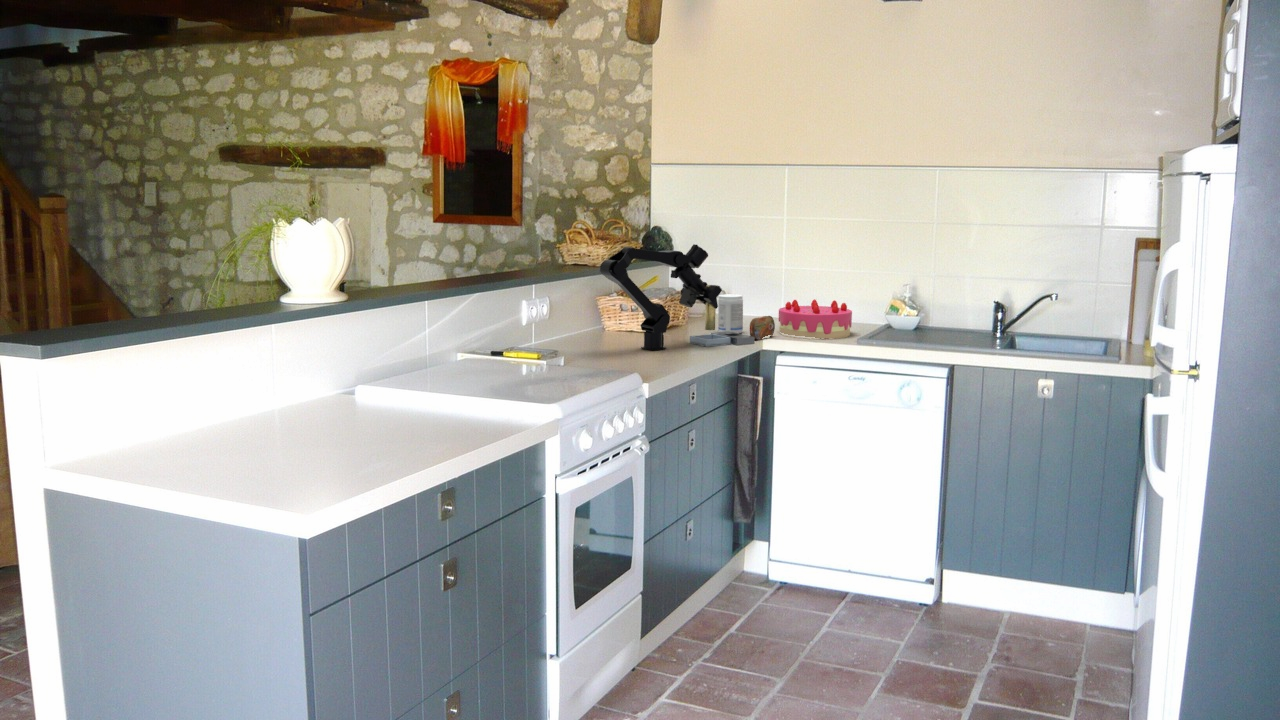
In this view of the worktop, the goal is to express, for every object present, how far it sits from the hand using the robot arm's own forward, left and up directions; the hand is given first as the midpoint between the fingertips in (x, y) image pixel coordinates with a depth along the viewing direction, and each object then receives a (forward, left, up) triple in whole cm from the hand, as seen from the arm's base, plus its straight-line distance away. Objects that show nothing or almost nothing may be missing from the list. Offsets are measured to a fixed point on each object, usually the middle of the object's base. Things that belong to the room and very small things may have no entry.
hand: (713, 307), depth 363 cm
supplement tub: (+25, +14, -13) cm, 32 cm away
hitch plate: (+9, -2, -13) cm, 16 cm away
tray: (-1, 0, -13) cm, 13 cm away
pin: (-1, 0, -8) cm, 8 cm away
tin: (+23, -4, -13) cm, 27 cm away
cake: (+48, -9, -14) cm, 50 cm away
